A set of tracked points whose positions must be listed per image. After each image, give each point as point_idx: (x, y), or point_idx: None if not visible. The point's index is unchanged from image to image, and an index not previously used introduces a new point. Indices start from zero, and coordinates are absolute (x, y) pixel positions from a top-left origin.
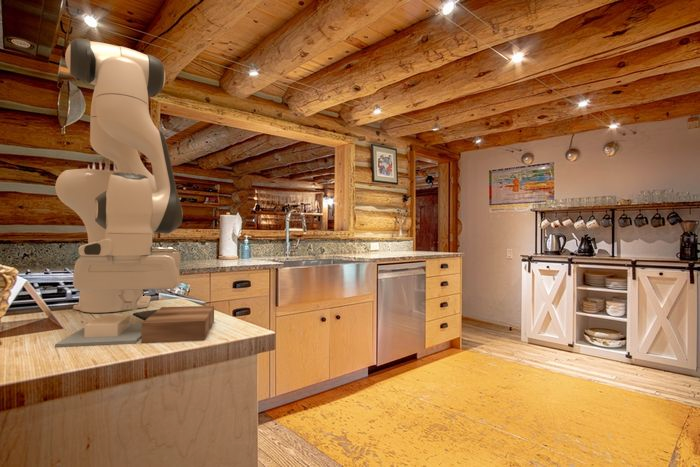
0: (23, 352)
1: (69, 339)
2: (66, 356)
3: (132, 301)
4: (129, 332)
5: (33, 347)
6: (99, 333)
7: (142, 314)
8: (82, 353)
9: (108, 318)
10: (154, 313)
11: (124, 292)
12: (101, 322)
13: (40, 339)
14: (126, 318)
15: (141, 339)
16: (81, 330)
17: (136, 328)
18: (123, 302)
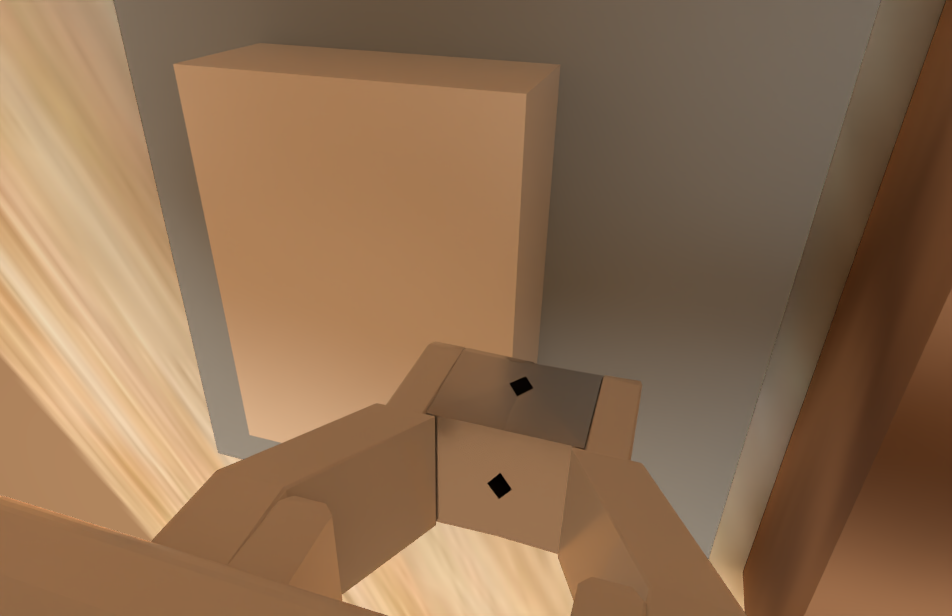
0: (144, 466)
1: (237, 384)
2: (377, 607)
3: (571, 580)
4: (609, 343)
5: (124, 397)
6: None
7: None
8: (431, 599)
9: (318, 214)
10: (925, 378)
11: (325, 524)
12: (334, 384)
13: (28, 226)
14: (520, 250)
15: (745, 598)
16: (160, 128)
17: (655, 197)
18: (436, 516)
